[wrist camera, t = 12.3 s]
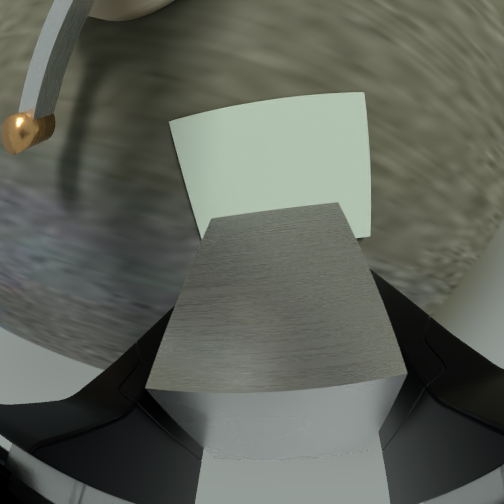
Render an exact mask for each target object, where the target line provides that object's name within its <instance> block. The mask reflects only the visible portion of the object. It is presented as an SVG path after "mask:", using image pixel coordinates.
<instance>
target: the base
mask: <svg viewBox="0 0 504 504" xmlns="http://www.w3.org/2000/svg"><path fill="white" fill-rule="evenodd" d="M94 1H95V2H94V4H93V6H92V8H91V10H90V12H89V14H88V16H90V17H95V18H99V19H103V20H107V21H126V20H132V19H136V18H140V17H143V16H146V15H149V14H151V13H153V12H156V11H158V10H160V9H162V8H163V7H165V6H167V5H169V4H170V3H172V2H173V1H175V0H94Z"/></svg>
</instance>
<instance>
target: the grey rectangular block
mask: <svg viewBox="0 0 504 504" xmlns="http://www.w3.org/2000/svg"><path fill="white" fill-rule="evenodd" d="M406 375H407V370H406V367H405V364H404V361H403V357H402V354H401V351H400V348H399V345H398V342H397V339H396V336H395V334H394V331H393V328H392V325H391V322H390V320H389V317H388V314H387V312H386V309H385V306H384V304H383V301H382V299H381V296H380V293H379V291H378V288H377V286H376V284H375V281H374V279H373V276H372V274H371V272H370V269H369V267H368V265H367V262H366V260H365V258H364V255H363V253H362V251H361V249H360V246H359V244H358V242H357V240H356V238H355V236H354V233H353V231H352V229H351V227H350V225H349V223H348V221H347V219H346V217H345V215H344V213H343V211H342V209H341V207H340V205H339V203H338V202H335V203H326V204H317V205H308V206H299V207H291V208H283V209H275V210H267V211H260V212H253V213H245V214H238V215H231V216H224V217H218V218H211V220H210V222H209V225H208V227H207V229H206V232H205V234H204V236H203V239H202V241H201V243H200V246H199V248H198V250H197V253H196V255H195V257H194V260H193V262H192V265H191V267H190V270H189V272H188V274H187V277H186V279H185V282H184V284H183V287H182V289H181V292H180V294H179V297H178V299H177V302H176V305H175V307H174V310H173V312H172V315H171V318H170V320H169V323H168V325H167V328H166V331H165V333H164V336H163V339H162V342H161V344H160V347H159V350H158V353H157V355H156V358H155V361H154V364H153V367H152V369H151V372H150V375H149V378H148V381H147V384H146V387H145V389H146V390H147V391H148V392H149V393H150V394H151V396H152V397H153V398H154V399H155V400H156V401H157V402H158V403H159V404H160V406H161V407H162V408H163V409H164V410H165V411H166V412H167V413H168V414H169V415H170V416H171V417H172V418H173V419H174V420H175V421H176V422H177V423H178V424H179V425H180V426H181V427H182V428H183V429H184V430H185V431H186V432H187V433H188V434H189V435H190V436H191V437H192V438H193V439H194V440H195V441H196V442H197V443H198V444H199V445H201V446H202V447H203V448H204V449H205V450H206V451H207V452H208V453H209V454H211V455H212V456H213V457H214V458H218V459H219V458H220V459H235V460H292V459H307V458H319V457H328V456H336V455H343V454H350V453H356V452H362V451H367V450H368V448H369V447H370V445H371V443H372V442H373V440H374V438H375V436H376V435H377V433H378V431H379V430H380V428H381V426H382V424H383V423H384V421H385V419H386V417H387V415H388V413H389V411H390V409H391V407H392V405H393V403H394V401H395V399H396V397H397V395H398V393H399V391H400V389H401V387H402V384H403V382H404V380H405V378H406Z"/></svg>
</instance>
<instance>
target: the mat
mask: <svg viewBox="0 0 504 504" xmlns="http://www.w3.org/2000/svg"><path fill="white" fill-rule="evenodd" d="M169 124H170V128H171V132H172V136H173V140H174V144H175V148H176V151H177V155H178V159H179V163H180V166H181V170H182V173H183V177H184V181H185V184H186V188H187V191H188V195H189V198H190V202H191V205H192V209H193V212H194V215H195V219H196V222H197V225H198V229H199V232H200V235H201V239H203V236H204V234H205V232H206V229H207V227H208V225H209V222H210V220H211V218H218V217H224V216H231V215H238V214H245V213H253V212H260V211H267V210H275V209H283V208H291V207H299V206H308V205H317V204H326V203H335V202H338V203H339V205H340V207H341V209H342V211H343V213H344V215H345V217H346V219H347V221H348V223H349V225H350V227H351V229H352V231H353V233H354V236H355V238H361V237H370V229H371V177H370V152H369V137H368V124H367V114H366V104H365V96H364V92H350V93H330V94H316V95H305V96H295V97H287V98H279V99H272V100H265V101H258V102H252V103H247V104H241V105H236V106H230V107H226V108H221V109H216V110H211V111H207V112H203V113H199V114H195V115H191V116H187V117H183V118H179V119H175V120H172V121H169Z"/></svg>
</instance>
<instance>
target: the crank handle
mask: <svg viewBox="0 0 504 504" xmlns="http://www.w3.org/2000/svg"><path fill="white" fill-rule="evenodd" d="M94 2H95V1H94V0H55V1H54V3H53V5H52V7H51V10H50V12H49V14H48V16H47V19H46V21H45V23H44V26H43V28H42V31H41V34H40V36H39V39H38V42H37V45H36V47H35V50H34V53H33V57H32V60H31V63H30V66H29V70H28V73H27V77H26V81H25V85H24V89H23V93H22V98H21V103H20V108H19V113H17V114H14V115H11V116H9V117H8V118H7V119H6V120H5V122H4V124H3V127H2V142H3V145H4V147H5V149H6V150H7V152H8V153H10V154H17V153H19V152H21V151H23V150H25V149H27V148H29V147H32V146H34V145H36V144H38V143H41V142H43V141H45V140H48V139H49V138H50V137H51V136H52V134H53V132H54V129H55V116H54V110H55V106H56V102H57V99H58V95H59V91H60V88H61V85H62V81H63V78H64V75H65V72H66V69H67V66H68V63H69V60H70V57H71V55H72V52H73V49H74V47H75V44H76V42H77V39H78V37H79V34H80V32H81V30H82V27H83V25H84V23H85V21H86V18H87V16H88V14H89V12H90V10H91V8H92V6H93V4H94Z"/></svg>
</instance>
